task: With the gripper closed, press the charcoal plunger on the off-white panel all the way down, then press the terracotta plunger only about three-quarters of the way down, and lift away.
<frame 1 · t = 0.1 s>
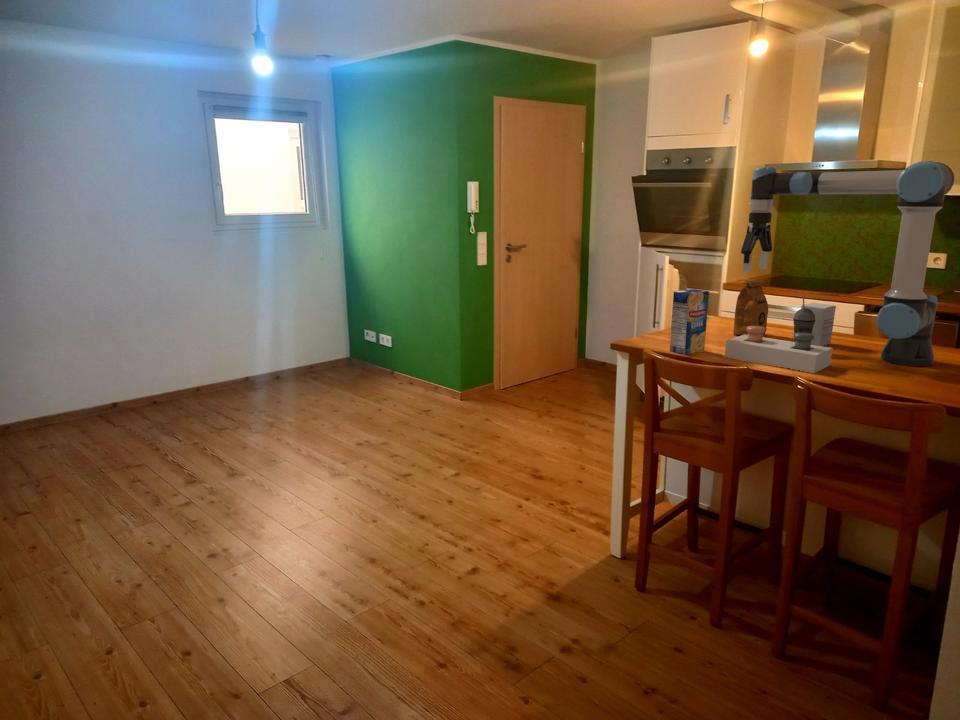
hand: (754, 270, 239), 28 cm above the breakfast bar, tool pointing down, fingers open, 13 cm apart
beverage box: (686, 351, 237), on the breakfast bar
beverage cup: (800, 351, 236), on the breakfast bar
charcoal plunger: (802, 342, 214), point 8 cm above the breakfast bar, slide at 0.0 cm
plunger panel: (776, 361, 222), on the breakfast bar
terracotta plunger: (755, 335, 226), point 8 cm above the breakfast bar, slide at 0.0 cm
supplement box: (813, 344, 247), on the breakfast bar
coffee package: (749, 335, 262), on the breakfast bar
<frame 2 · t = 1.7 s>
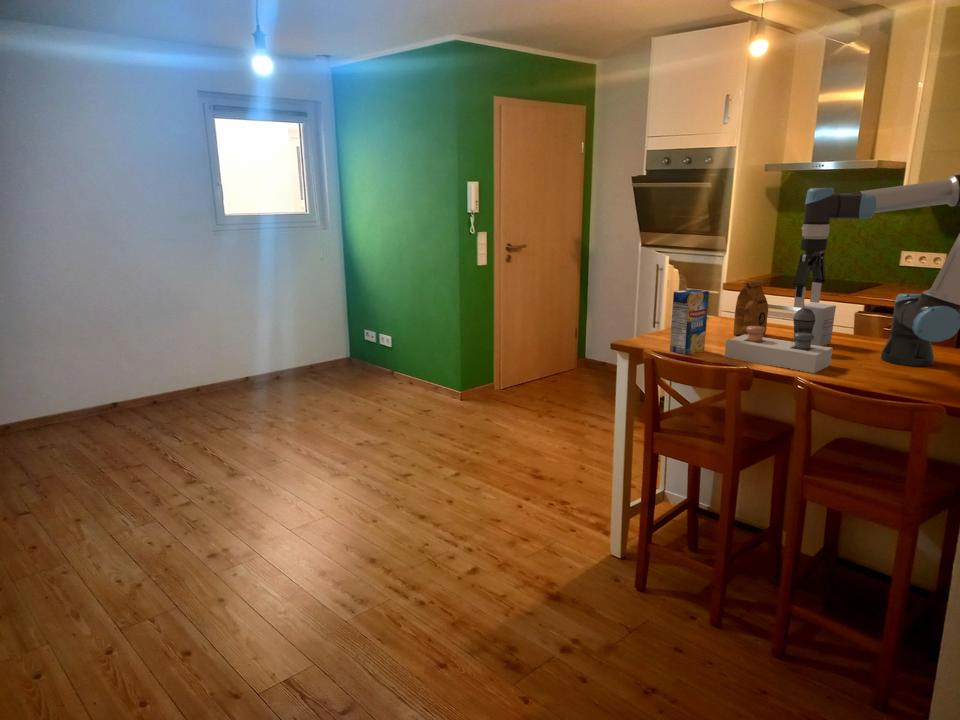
hand: (806, 304, 211), 20 cm above the breakfast bar, tool pointing down, fingers open, 12 cm apart
nothing on the breakfast bar moved.
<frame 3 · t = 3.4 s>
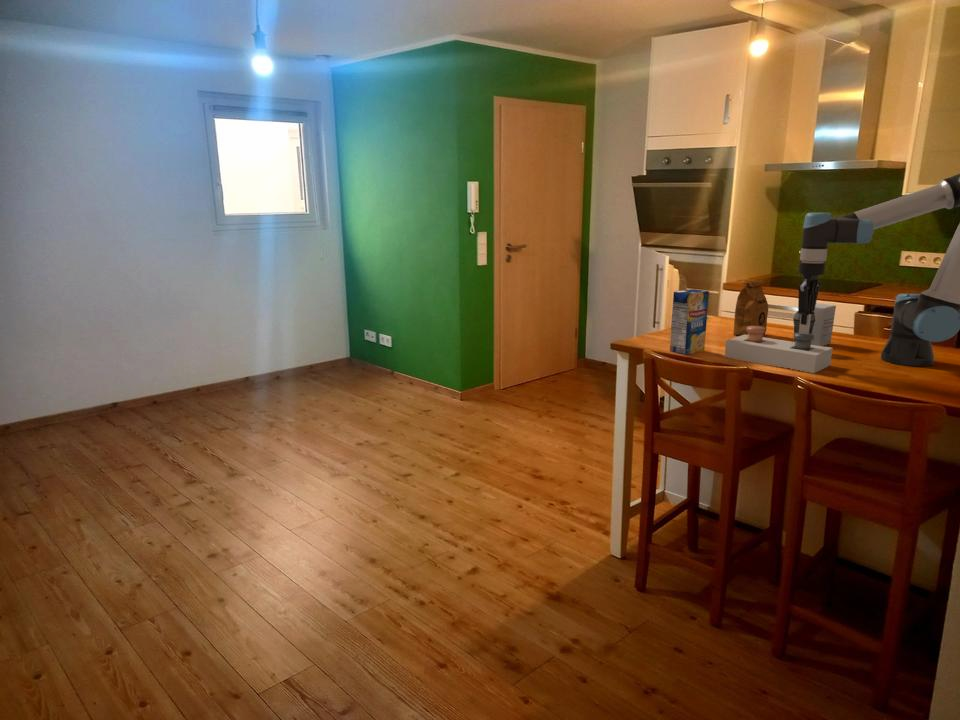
hand: (803, 333, 214), 11 cm above the breakfast bar, tool pointing down, fingers closed
charcoal plunger: (802, 342, 214), point 8 cm above the breakfast bar, slide at 0.0 cm, touching gripper
everything else where it was.
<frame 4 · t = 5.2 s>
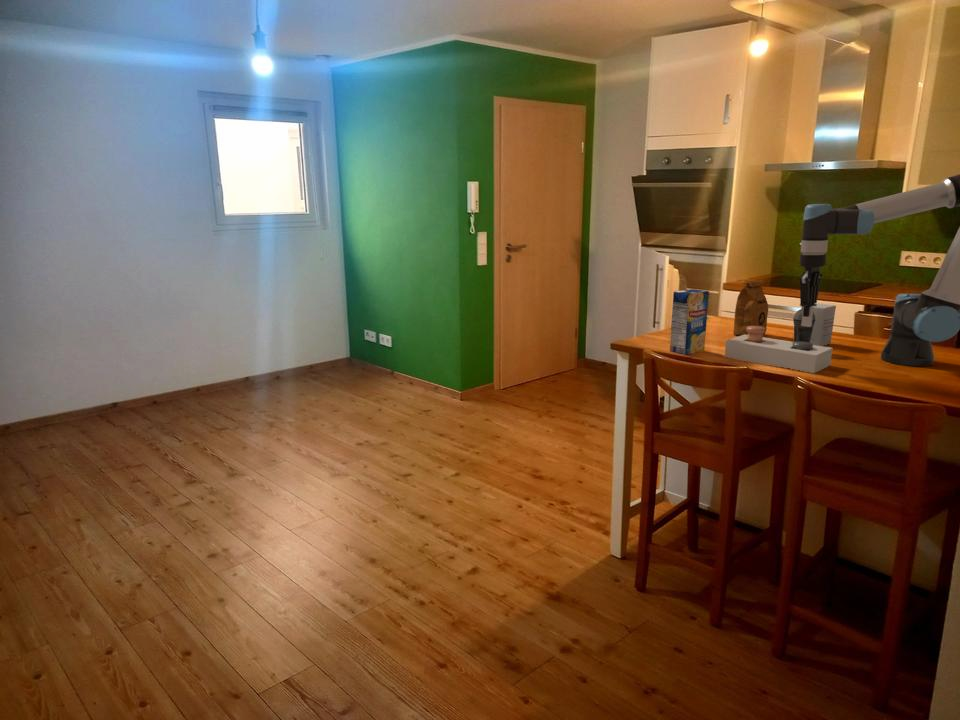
hand: (806, 325, 213), 13 cm above the breakfast bar, tool pointing down, fingers closed
charcoal plunger: (801, 351, 215), point 5 cm above the breakfast bar, slide at 3.1 cm
everything else where it was.
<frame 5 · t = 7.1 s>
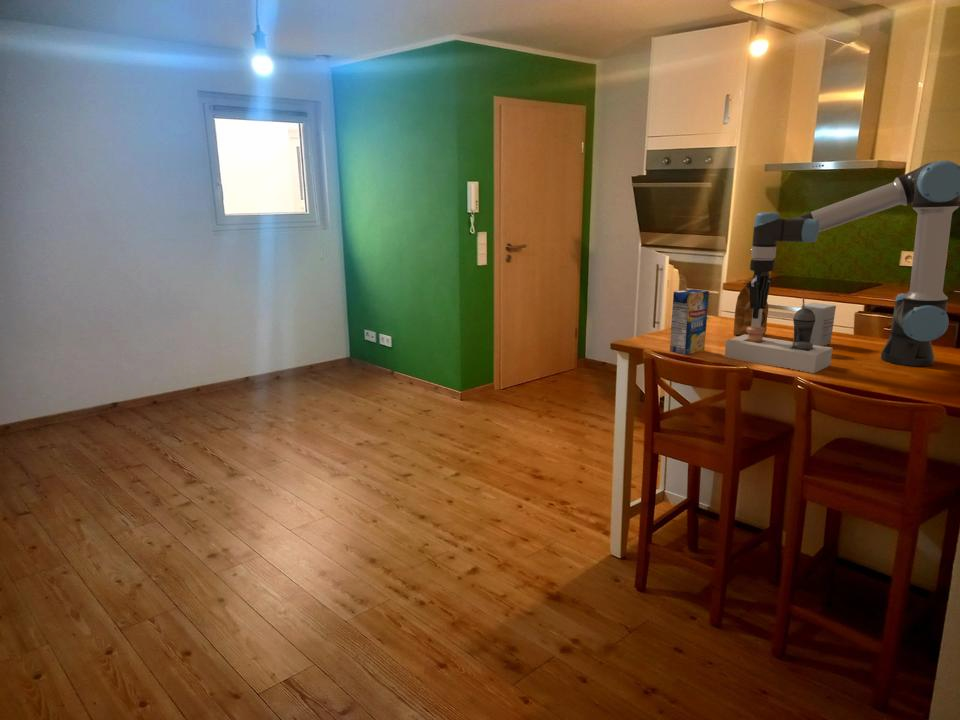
hand: (755, 327, 225), 11 cm above the breakfast bar, tool pointing down, fingers closed
terracotta plunger: (755, 335, 226), point 8 cm above the breakfast bar, slide at 0.2 cm, touching gripper
everything else where it was.
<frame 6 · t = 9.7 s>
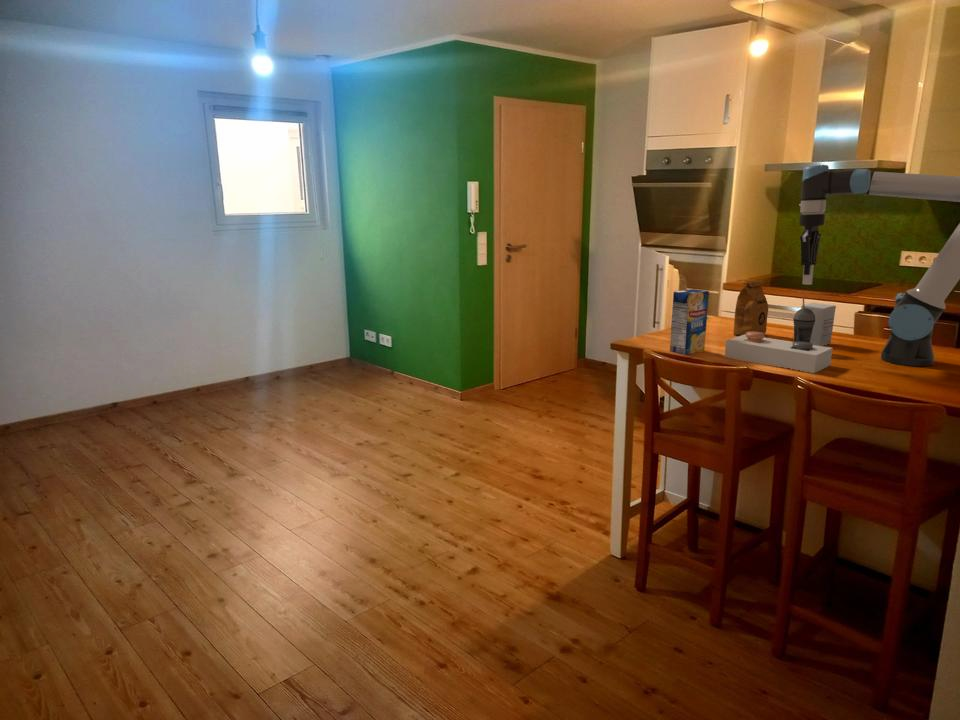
hand: (807, 284, 221), 26 cm above the breakfast bar, tool pointing down, fingers closed
terracotta plunger: (754, 341, 226), point 6 cm above the breakfast bar, slide at 2.0 cm
everything else where it was.
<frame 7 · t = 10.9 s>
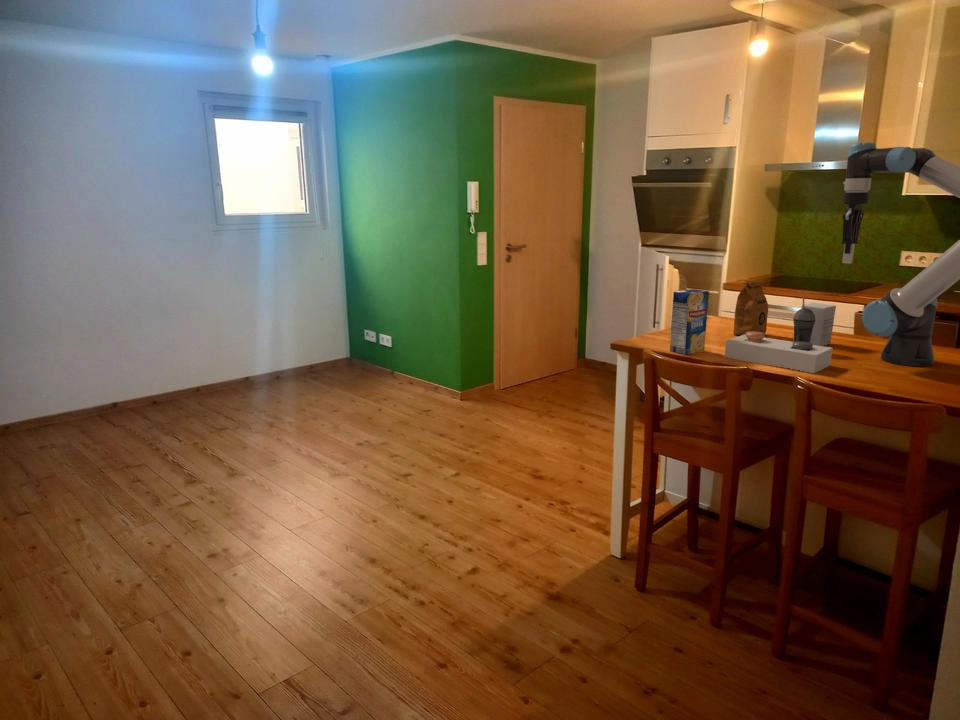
hand: (847, 263, 221), 32 cm above the breakfast bar, tool pointing down, fingers closed
nothing on the breakfast bar moved.
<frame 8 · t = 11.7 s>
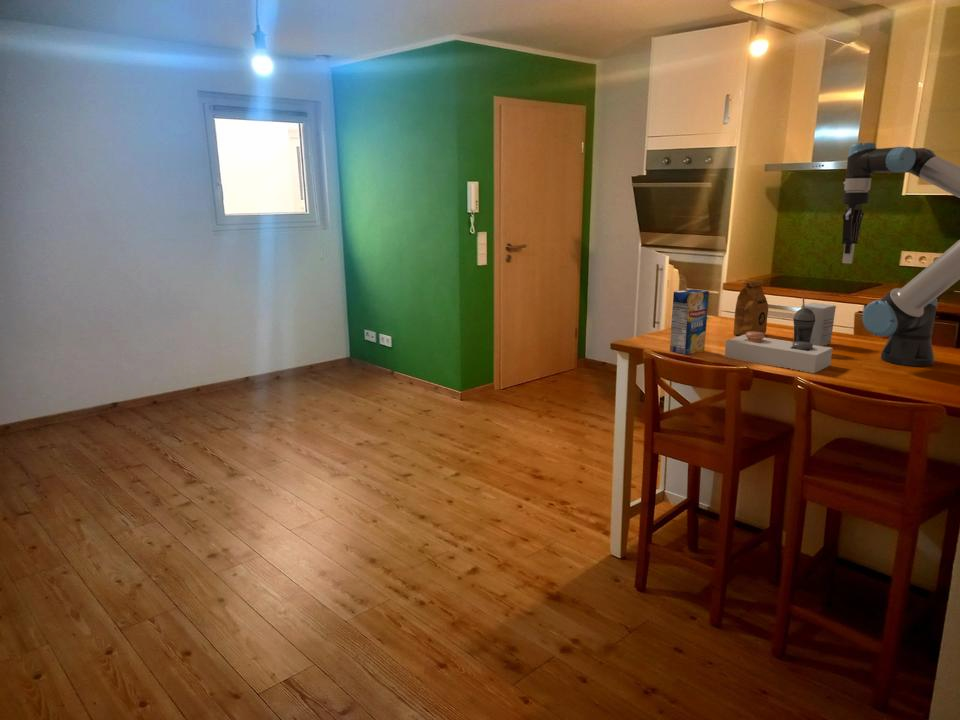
hand: (847, 263, 221), 32 cm above the breakfast bar, tool pointing down, fingers closed
nothing on the breakfast bar moved.
at the end: charcoal plunger slide at 3.1 cm; terracotta plunger slide at 2.0 cm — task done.
